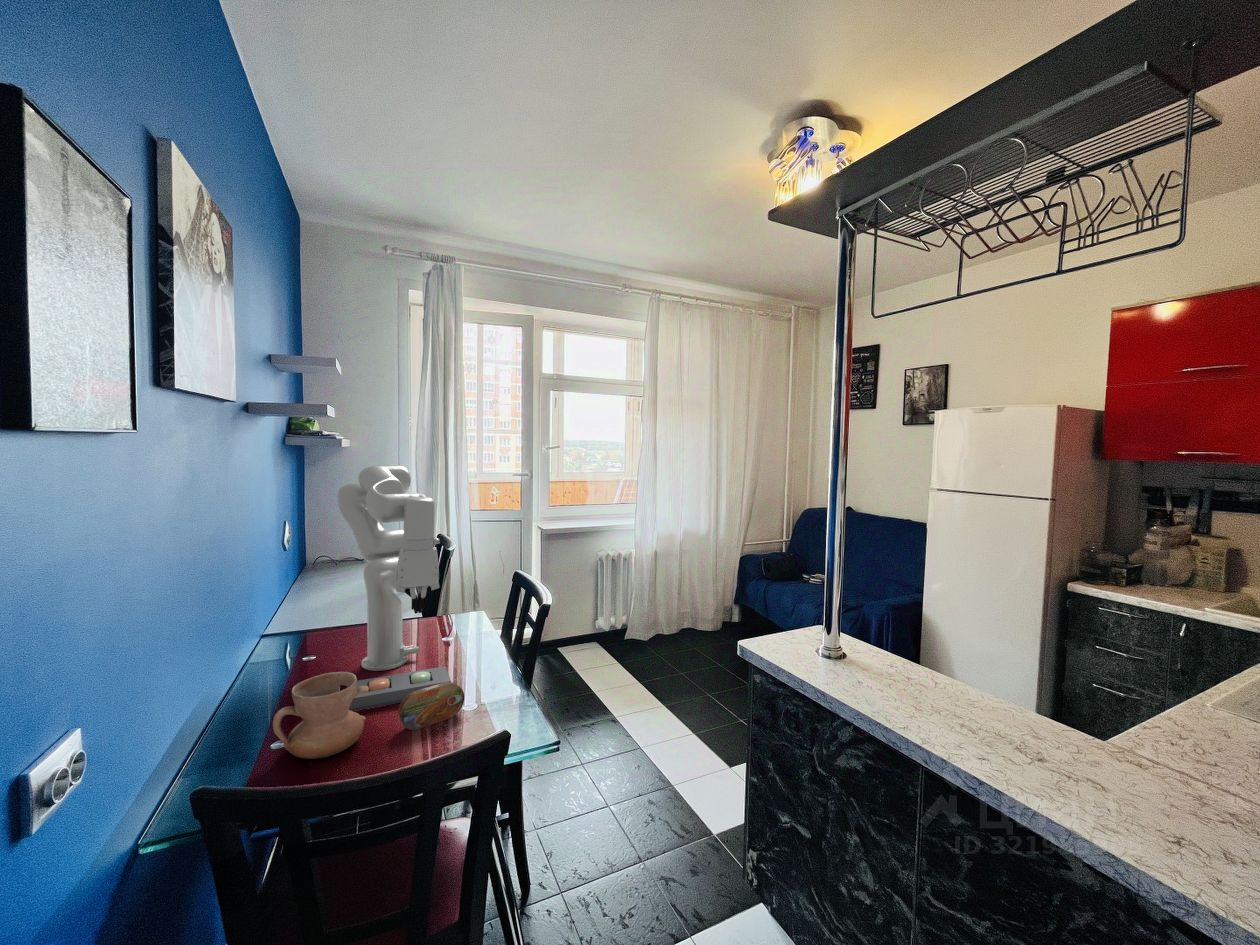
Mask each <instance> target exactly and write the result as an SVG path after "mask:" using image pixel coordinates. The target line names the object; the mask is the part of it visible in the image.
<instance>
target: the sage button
mask: <svg viewBox="0 0 1260 945" xmlns="http://www.w3.org/2000/svg"><path fill="white" fill-rule="evenodd" d="M427 681H430V673H429V672H425V671H422V672H417V673H414V674H413V675H412V676H411V684H416V683H422V682H427Z"/></svg>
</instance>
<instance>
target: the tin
mask: <svg viewBox="0 0 1260 945" xmlns="http://www.w3.org/2000/svg"><path fill="white" fill-rule="evenodd" d="M464 702H465V692H464V690H463V688H462V686H460V685H457V684H456V683H454V682H452V681H451V682H444V683H441V684H437V685H434V686H430V687H427V688H423V689H420V690H416V691H413V692H411V693H410V694H408V695H407V696H406V697H405V698H404V699H403V700H402V702H401V703H400V704H399V706H398V711H397V714H398V718H399V721H400V722H401V724H402V726H403V727H405V728H406V729H407V730H412V731H414V730H415V731H416V730H420V729H423V728H425V727H426V728H427V727H429V726H431V725H434V724H438V723H440V722H443V721H446V720H449V719H451V718H454V716H456V715H458V713H459V712H460V711H461V709H462V708H463V706H464Z"/></svg>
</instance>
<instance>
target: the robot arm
mask: <svg viewBox="0 0 1260 945" xmlns="http://www.w3.org/2000/svg"><path fill="white" fill-rule="evenodd" d="M357 479H358V481H357V482H356V481H355V482H349V483H346V484H344V485H342V486H341V487H340V488H339V489H338V492H337V497H336V498H337V505H338V509H339V511H340V512H339V513H340V514H341V516H342V518H343V519H344V521H345V522H346V523H347V525H348V526H349V528H350V529H351V530H352V532H353V535H354V539H355V541H356V543H357V548H358V549H359V553H360V555H361V557H362V558H363V560H364V561H366V562H368V563H367V564H366V565H365V566H364V569H363V580H364V585H365V592H366V607H367V609H366V611H367V617H366V619H367V622H366V623H367V624H366V625H367V627H366V628H367V632H366V634H367V638H366V639H367V645H366V646H367V647H366V648H367V650H366V652H367V656H365V657H364V658H363V659H362V660H361V668H363V669H364V670H367V671H373V672H375V671H376V672H379V671H380V672H381V671H382V672H383V671H388V670H392V669H396V668H399V667H401V666H402V665H405V664H406V663H407V662H408V660H409V655H411V654H412V655H413V654H419V651H420V649H419V646H415V645H414V644H412V645H407V646H406V645H404V641H403V602H402V600H401V598H400V597H399V596H398V595H397V594H396V592H397V593H401V594H402V593H404V594H406V595H407V596H409V597H410V598H411V606H410V607H411V610H412V611H413V612H414V614H415V615H416V614H418V613H419V614H422V609H423V610H424V609H425V598H426V596H427V595H428V594H429V593H430V592H431V591H434V590H437V589H440V582H439V580H440V569H439V556H438V550H437V547H435V546H436V545H437V544H439V545H440V543H441V542H440V541H441V539H440V538H437V537H435V515H436V514H435V513H436V512H435V508H436V506H435V505H436V504H435V501H434V499H433V498H432V497H428V496H426V495H425V494H424V493H421V492H413V493H411V492H410V493H407V492H408V490H409V489H410V486H411V482H412V478H411V475H410V472H409V470H408V469H407V468H406V467H405V466H402V465H396V464H395V465H369V466H367V467H365V468H363V469H362V470H361V471H360V472H359V475H358V478H357ZM399 522H403V528H396V529H386V528H385V527H384V525H383V524H384V523H385V524H386V523H387V524H388V523H399ZM416 588H420V590H419V593H416ZM394 591H396V592H394ZM417 594H418V595H417Z"/></svg>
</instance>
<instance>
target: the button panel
mask: <svg viewBox="0 0 1260 945" xmlns="http://www.w3.org/2000/svg"><path fill="white" fill-rule="evenodd" d="M422 671H425V672H429V673H430V681H427V682H422V683H416V684H411V676H412V675H413V674H414V673H417V672H422ZM379 678H387V679H389V680H390V688H387V689H381V690H376V691H370V692H369V691H368V693H365V692H362V693H360V694H358V695H357V696H355V697H354V698H353V700H352V702H351V705H350V707H349V709H348V710H350V711H357V710H360V709H361V710H362V709H366V708H372V707H378V706H384V705H389V706H391V705H390V704H394V705H396V704H395V703H399V702H400V704H401V702H402V700H403V699H404V698H405V697H406V696H407V695H408V694H410V693H411V692H413V691H416V690H420V689H423V688H427V687H430V686H434V685H437V684H441V683H444V682H452V680H451V678H450V675H449V672H448V669H447V666H446V665H445V666H438V667H433V668H426V669H422V670H421V669H420V670H414V671H409V672H403V673H402V672H401V673H396V674H389V675H384V676H378V677H370V678H366V679H359V680H358V679H357V686H356V689H357V688H358V687H360V686H368V687H369V683H370V682H371V681H373V680H375V679H379ZM384 707H385V706H384ZM378 708H379V707H378ZM362 711H363V710H362ZM357 712H358V711H357Z"/></svg>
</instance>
